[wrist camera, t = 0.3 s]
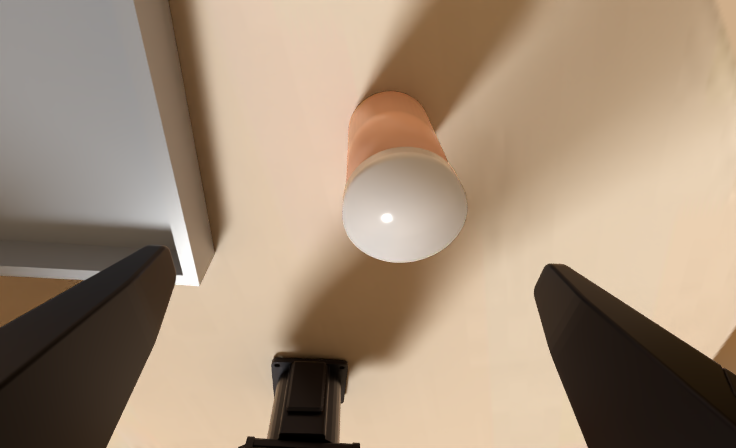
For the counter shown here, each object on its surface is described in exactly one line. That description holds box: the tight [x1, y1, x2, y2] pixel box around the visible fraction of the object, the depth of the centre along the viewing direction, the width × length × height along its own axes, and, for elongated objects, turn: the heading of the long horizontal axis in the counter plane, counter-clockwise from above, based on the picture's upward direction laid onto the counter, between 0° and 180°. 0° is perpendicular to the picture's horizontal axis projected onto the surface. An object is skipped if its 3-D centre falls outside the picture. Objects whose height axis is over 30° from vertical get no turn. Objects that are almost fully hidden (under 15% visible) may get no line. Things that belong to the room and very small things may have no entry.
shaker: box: [342, 91, 467, 263], centre depth 17 cm, size 5×5×8 cm
